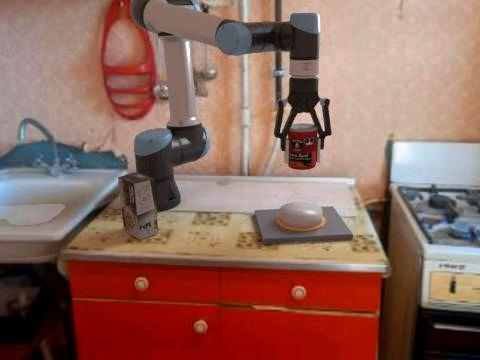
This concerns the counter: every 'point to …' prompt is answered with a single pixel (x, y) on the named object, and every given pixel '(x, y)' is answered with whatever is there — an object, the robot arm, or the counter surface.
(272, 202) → the counter surface
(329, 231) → the base
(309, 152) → the canned food
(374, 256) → the counter surface
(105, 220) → the counter surface
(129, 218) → the coffee box
